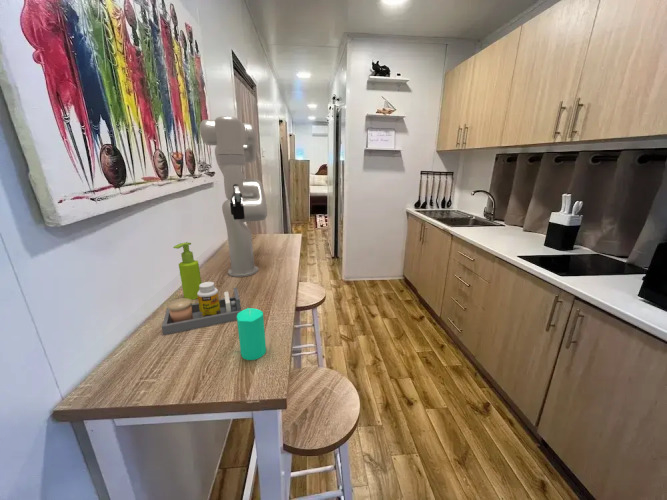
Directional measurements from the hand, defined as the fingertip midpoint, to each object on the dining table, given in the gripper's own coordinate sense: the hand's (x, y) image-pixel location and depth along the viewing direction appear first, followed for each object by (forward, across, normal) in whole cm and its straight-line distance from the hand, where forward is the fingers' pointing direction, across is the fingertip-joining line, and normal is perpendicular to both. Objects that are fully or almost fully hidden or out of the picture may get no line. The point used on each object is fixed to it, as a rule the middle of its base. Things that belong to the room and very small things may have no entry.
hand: (237, 216), depth 89 cm
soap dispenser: (+28, -5, -17) cm, 34 cm away
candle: (+28, +33, -2) cm, 44 cm away
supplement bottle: (+28, +12, -11) cm, 32 cm away
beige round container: (+27, +12, -19) cm, 35 cm away
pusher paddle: (+27, +12, -6) cm, 30 cm away
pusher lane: (+28, +12, -13) cm, 33 cm away
